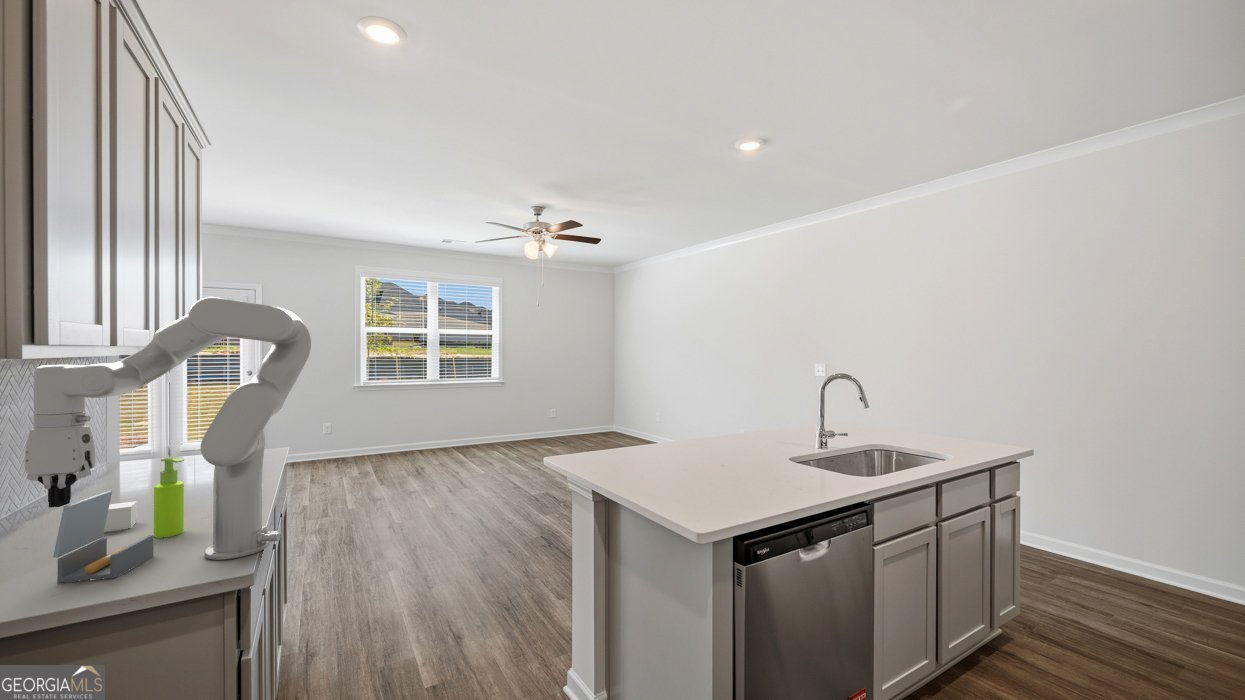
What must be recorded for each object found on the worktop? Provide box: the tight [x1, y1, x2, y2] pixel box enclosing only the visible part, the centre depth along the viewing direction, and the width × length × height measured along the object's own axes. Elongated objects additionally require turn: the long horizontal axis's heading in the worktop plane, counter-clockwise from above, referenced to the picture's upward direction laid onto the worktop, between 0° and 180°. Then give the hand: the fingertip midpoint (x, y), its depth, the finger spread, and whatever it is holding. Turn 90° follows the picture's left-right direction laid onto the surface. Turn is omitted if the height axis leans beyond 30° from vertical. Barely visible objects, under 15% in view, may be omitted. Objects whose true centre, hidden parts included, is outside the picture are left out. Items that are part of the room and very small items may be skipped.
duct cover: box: [52, 490, 113, 559], centre depth 112 cm, size 11×12×1 cm
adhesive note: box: [104, 500, 138, 533], centre depth 139 cm, size 6×6×6 cm
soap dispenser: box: [153, 457, 185, 539], centre depth 134 cm, size 6×7×20 cm
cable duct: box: [56, 534, 154, 584], centre depth 113 cm, size 10×12×5 cm
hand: (59, 505), depth 111 cm, fingers closed
